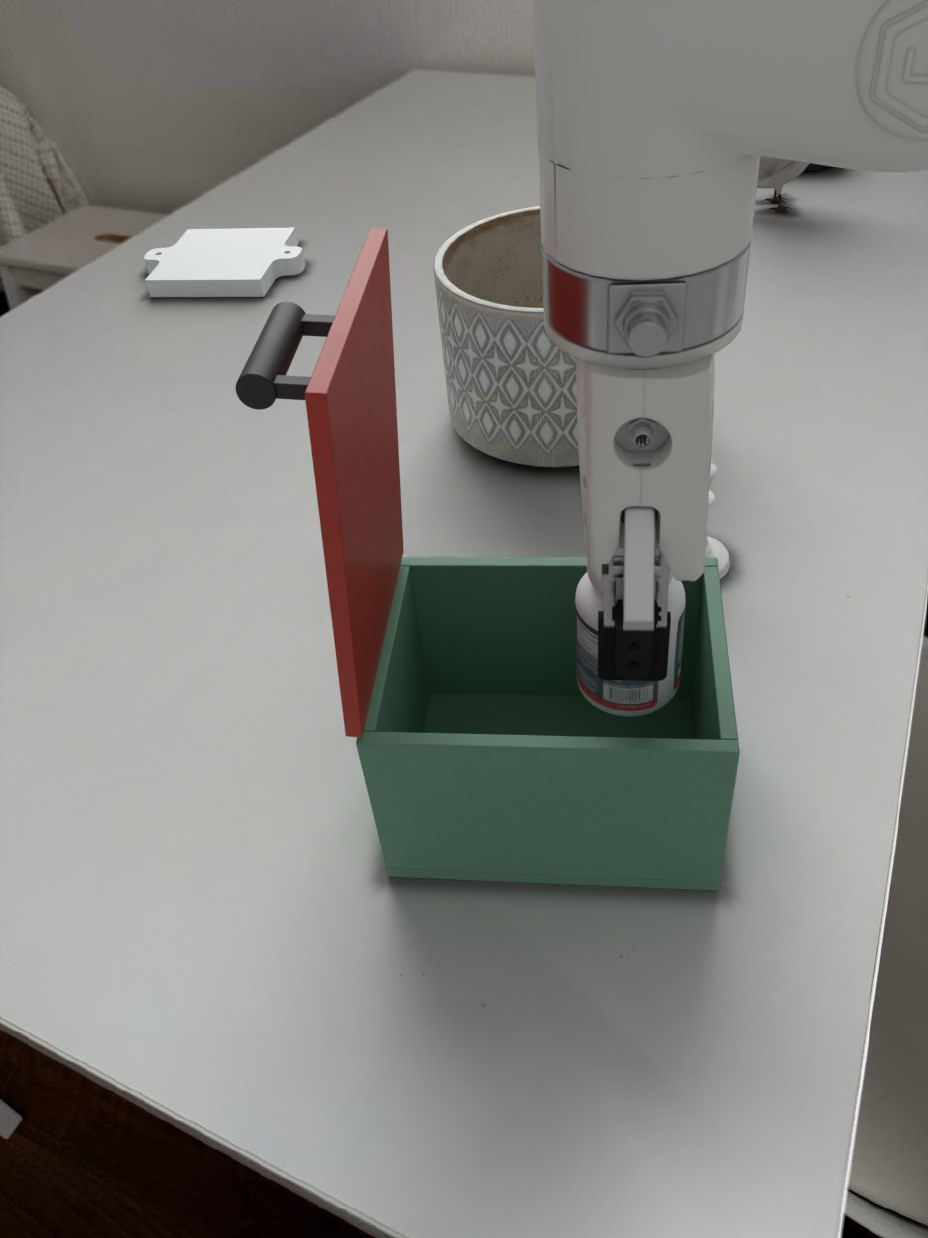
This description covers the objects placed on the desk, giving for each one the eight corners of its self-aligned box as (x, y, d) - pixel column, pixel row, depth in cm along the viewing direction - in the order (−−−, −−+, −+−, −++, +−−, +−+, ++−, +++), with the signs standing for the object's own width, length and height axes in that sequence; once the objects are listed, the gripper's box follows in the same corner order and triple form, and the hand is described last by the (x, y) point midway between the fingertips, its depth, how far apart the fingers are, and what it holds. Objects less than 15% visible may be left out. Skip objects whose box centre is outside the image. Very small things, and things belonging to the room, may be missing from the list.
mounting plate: (319, 243, 118) (316, 226, 117) (287, 296, 109) (283, 279, 108) (172, 245, 121) (167, 229, 120) (128, 297, 112) (123, 280, 111)
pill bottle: (625, 631, 56) (629, 500, 50) (700, 681, 53) (714, 547, 47) (555, 681, 54) (550, 550, 48) (629, 736, 51) (634, 604, 45)
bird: (848, 209, 113) (874, 58, 102) (723, 219, 114) (736, 70, 103) (837, 192, 116) (861, 44, 106) (715, 201, 117) (728, 55, 107)
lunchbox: (702, 697, 64) (717, 556, 56) (718, 891, 54) (740, 753, 46) (420, 692, 66) (397, 556, 58) (387, 877, 56) (355, 743, 49)
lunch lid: (387, 227, 45) (284, 223, 46) (326, 394, 36) (195, 386, 36) (403, 550, 58) (322, 545, 58) (362, 738, 48) (265, 730, 49)
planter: (407, 420, 89) (384, 260, 80) (562, 340, 97) (559, 185, 87) (556, 512, 78) (551, 339, 68) (718, 413, 86) (735, 245, 76)
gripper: (772, 405, 32) (722, 771, 45) (727, 189, 44) (697, 522, 57) (530, 410, 33) (547, 766, 46) (551, 197, 45) (560, 523, 58)
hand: (631, 628), depth 51 cm, fingers closed on pill bottle, 5 cm apart
